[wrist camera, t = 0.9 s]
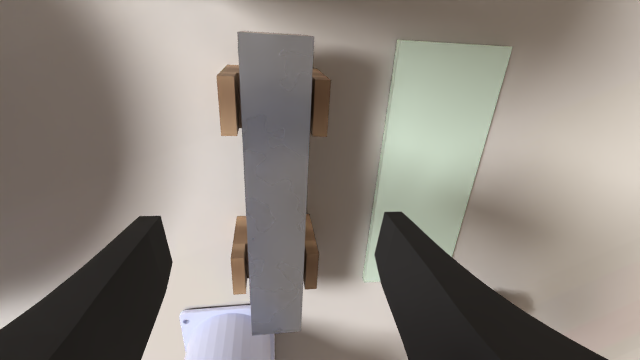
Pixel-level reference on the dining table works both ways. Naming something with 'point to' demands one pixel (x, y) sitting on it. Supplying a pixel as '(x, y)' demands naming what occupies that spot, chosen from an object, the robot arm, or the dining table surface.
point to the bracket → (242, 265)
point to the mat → (434, 136)
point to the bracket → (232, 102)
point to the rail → (275, 172)
